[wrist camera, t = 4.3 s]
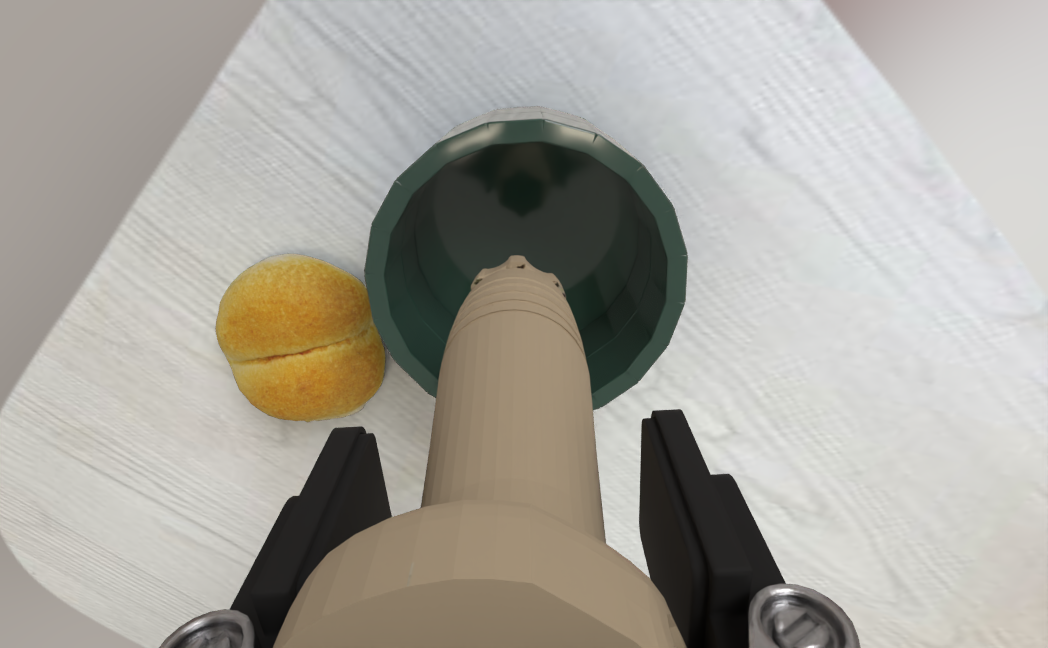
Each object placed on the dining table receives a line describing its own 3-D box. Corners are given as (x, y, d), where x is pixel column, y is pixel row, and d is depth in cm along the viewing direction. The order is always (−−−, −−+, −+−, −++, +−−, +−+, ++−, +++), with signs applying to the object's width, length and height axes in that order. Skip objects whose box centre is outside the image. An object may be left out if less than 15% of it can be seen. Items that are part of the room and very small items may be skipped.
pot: (382, 115, 27) (337, 131, 21) (656, 97, 27) (696, 108, 20) (419, 358, 32) (392, 430, 26) (649, 345, 32) (679, 416, 25)
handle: (539, 183, 19) (582, 517, 5) (614, 342, 21) (775, 849, 8) (410, 246, 20) (169, 671, 6) (497, 392, 22) (458, 925, 9)
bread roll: (360, 237, 30) (336, 262, 26) (402, 390, 33) (386, 431, 29) (203, 261, 30) (158, 288, 26) (261, 409, 34) (229, 451, 30)
